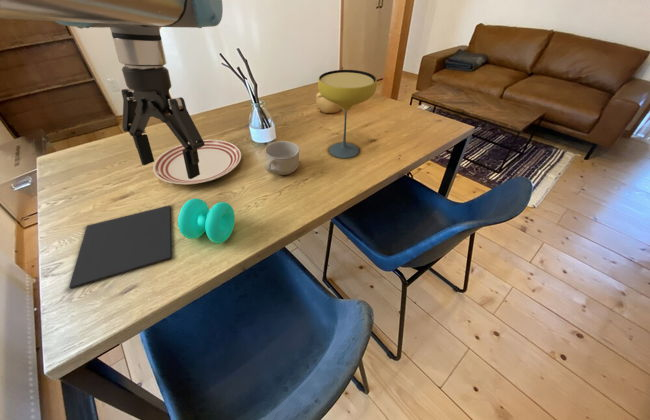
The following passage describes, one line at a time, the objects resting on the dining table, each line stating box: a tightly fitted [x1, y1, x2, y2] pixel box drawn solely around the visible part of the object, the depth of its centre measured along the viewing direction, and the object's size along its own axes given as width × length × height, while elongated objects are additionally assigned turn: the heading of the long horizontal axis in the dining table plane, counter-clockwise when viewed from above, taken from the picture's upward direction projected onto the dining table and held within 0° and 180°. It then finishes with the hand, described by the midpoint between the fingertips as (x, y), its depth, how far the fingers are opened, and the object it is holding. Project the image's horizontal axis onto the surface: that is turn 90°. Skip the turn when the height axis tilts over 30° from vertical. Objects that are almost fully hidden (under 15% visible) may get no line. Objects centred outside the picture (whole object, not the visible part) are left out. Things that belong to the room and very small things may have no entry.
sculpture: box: [315, 91, 342, 114], centre depth 124 cm, size 11×12×11 cm
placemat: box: [68, 205, 172, 289], centre depth 68 cm, size 20×20×1 cm
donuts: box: [177, 198, 236, 244], centre depth 67 cm, size 10×10×10 cm
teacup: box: [264, 140, 300, 176], centre depth 88 cm, size 14×11×8 cm
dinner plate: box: [152, 139, 242, 185], centre depth 92 cm, size 28×27×3 cm
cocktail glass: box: [317, 69, 378, 159], centre depth 92 cm, size 18×18×25 cm
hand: (170, 169), depth 63 cm, fingers open, 13 cm apart
